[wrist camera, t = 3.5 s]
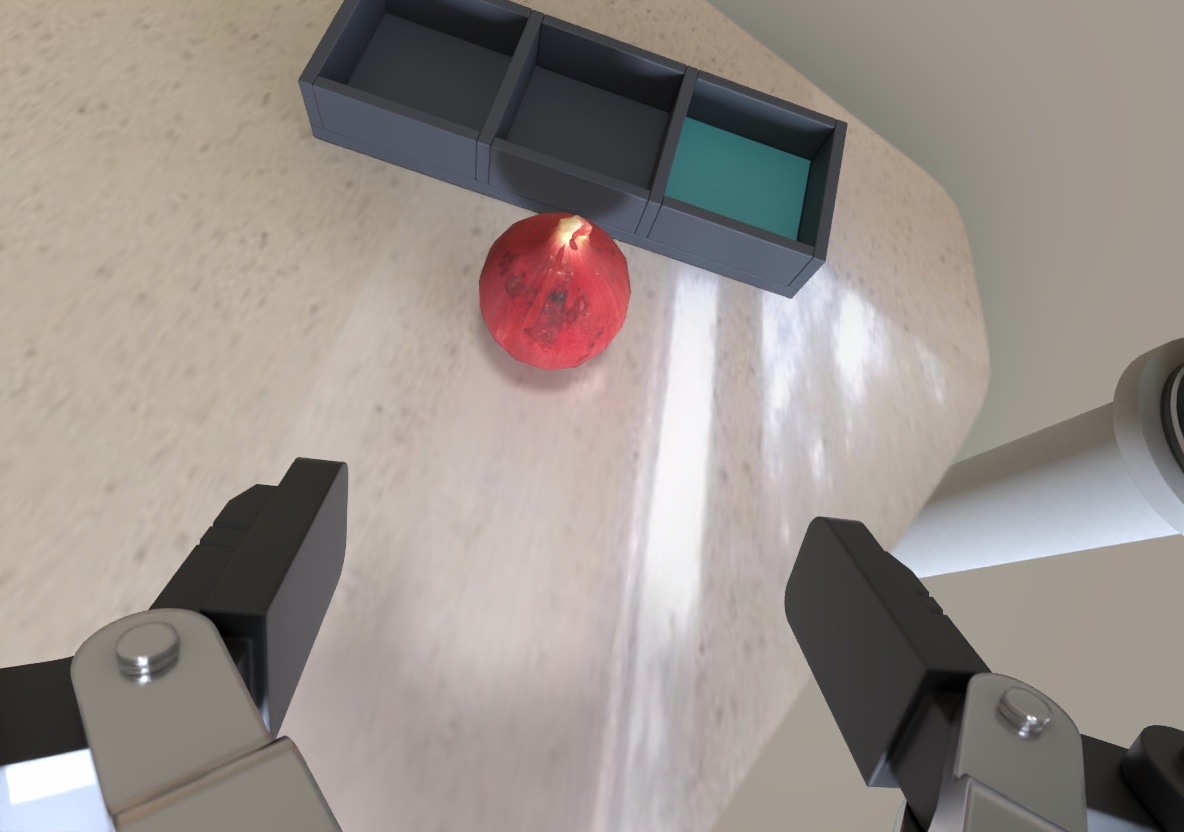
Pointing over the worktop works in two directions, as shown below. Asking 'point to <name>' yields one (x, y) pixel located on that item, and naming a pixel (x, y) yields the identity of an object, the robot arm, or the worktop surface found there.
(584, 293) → the onion
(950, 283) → the worktop surface
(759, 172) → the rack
